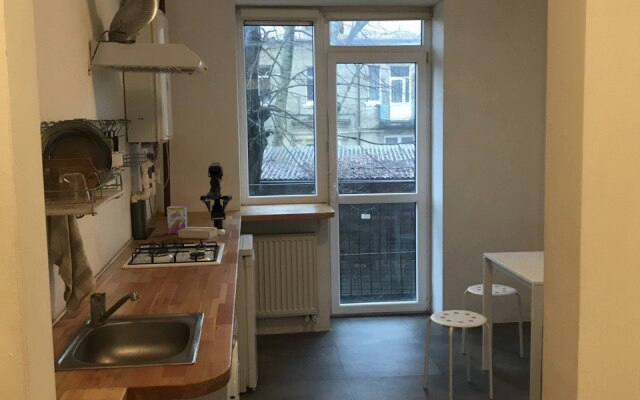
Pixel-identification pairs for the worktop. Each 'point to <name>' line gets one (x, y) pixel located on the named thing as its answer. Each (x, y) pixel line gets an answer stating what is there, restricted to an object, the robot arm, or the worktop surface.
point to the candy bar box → (176, 219)
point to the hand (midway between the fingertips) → (216, 212)
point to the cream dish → (221, 231)
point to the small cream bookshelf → (197, 233)
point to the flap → (200, 228)
